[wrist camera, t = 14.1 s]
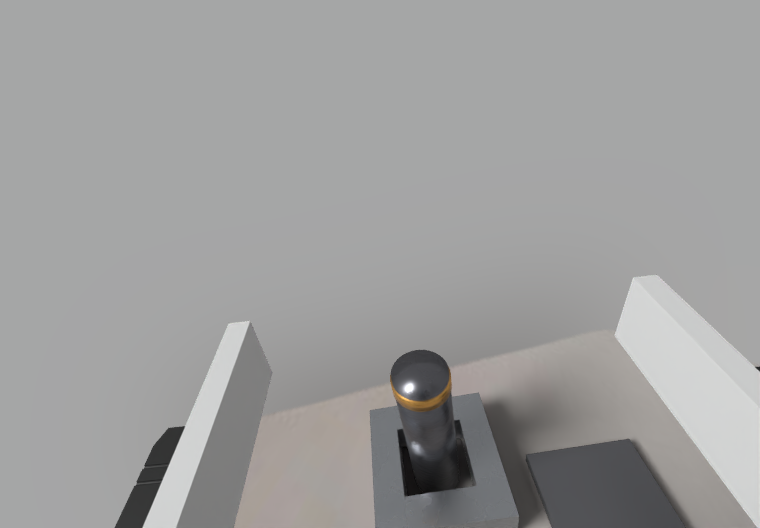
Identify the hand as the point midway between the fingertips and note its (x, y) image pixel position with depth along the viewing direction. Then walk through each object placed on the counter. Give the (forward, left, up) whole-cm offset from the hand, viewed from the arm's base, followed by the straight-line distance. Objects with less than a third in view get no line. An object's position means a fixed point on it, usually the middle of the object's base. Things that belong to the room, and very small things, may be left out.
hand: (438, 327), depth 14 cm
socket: (+1, -10, -30) cm, 32 cm away
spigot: (+1, -10, -30) cm, 32 cm away
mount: (-13, -6, -30) cm, 33 cm away
